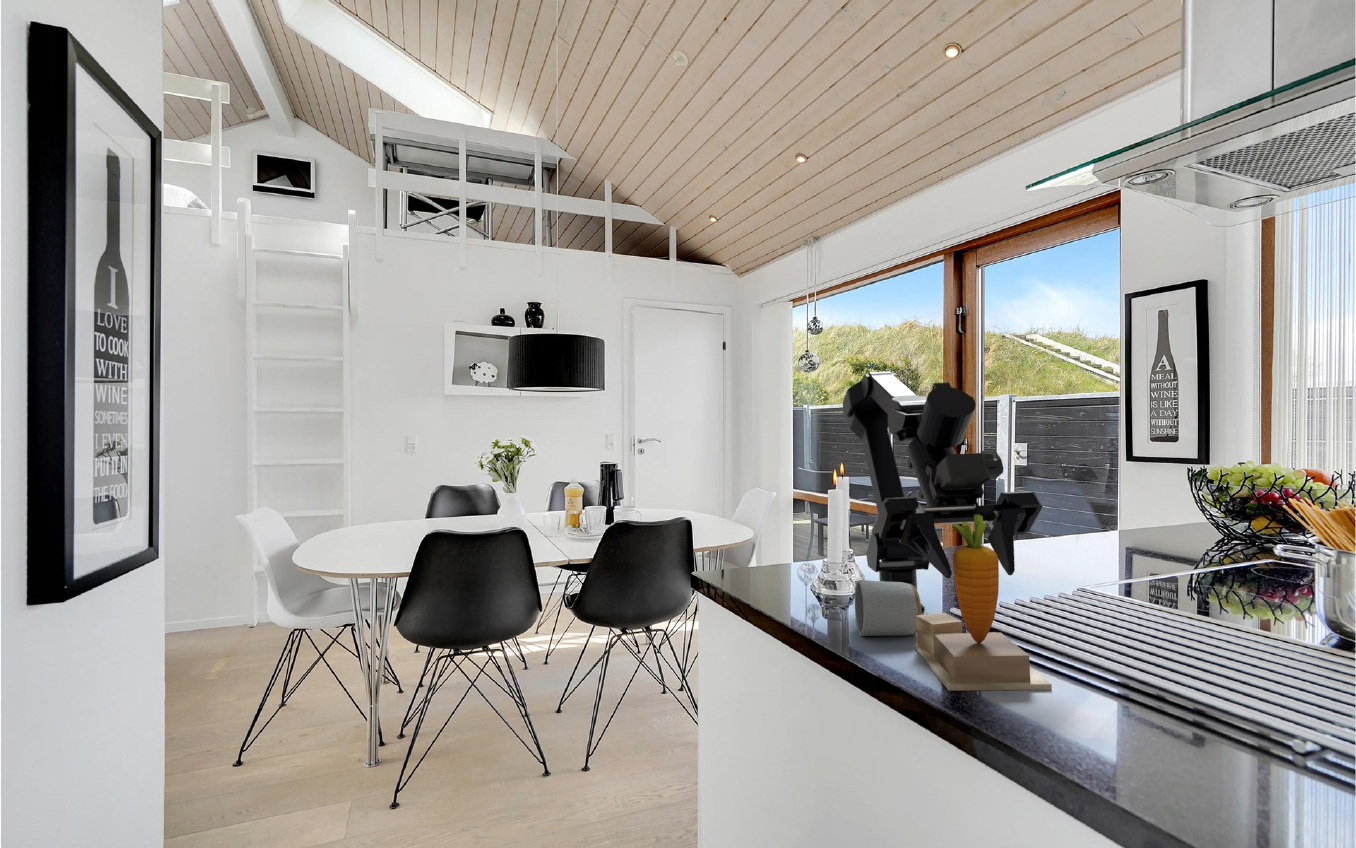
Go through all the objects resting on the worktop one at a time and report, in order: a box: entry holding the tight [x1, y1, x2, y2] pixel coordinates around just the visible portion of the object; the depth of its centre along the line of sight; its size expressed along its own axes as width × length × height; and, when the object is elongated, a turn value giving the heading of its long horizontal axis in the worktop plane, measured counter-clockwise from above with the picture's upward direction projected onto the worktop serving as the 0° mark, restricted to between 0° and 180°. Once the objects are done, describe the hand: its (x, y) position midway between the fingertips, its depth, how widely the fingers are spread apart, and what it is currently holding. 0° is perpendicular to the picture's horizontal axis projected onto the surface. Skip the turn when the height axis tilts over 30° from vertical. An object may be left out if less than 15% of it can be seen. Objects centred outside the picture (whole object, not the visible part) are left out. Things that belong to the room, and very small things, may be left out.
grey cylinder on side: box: [853, 579, 922, 637], centre depth 95 cm, size 11×8×8 cm
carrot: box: [951, 515, 1000, 644], centre depth 78 cm, size 5×5×15 cm
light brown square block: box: [934, 632, 1031, 683], centre depth 78 cm, size 8×8×3 cm
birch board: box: [914, 643, 1053, 692], centre depth 80 cm, size 14×11×1 cm
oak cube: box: [916, 612, 964, 656], centre depth 85 cm, size 4×4×4 cm
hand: (980, 574), depth 76 cm, fingers open, 7 cm apart
